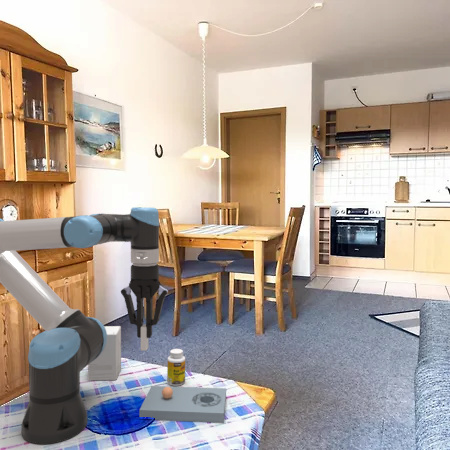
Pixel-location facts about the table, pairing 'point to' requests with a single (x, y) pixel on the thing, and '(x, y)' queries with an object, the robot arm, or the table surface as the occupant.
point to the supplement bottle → (176, 368)
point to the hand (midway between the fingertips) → (144, 348)
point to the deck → (185, 404)
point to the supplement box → (107, 357)
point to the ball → (167, 392)
